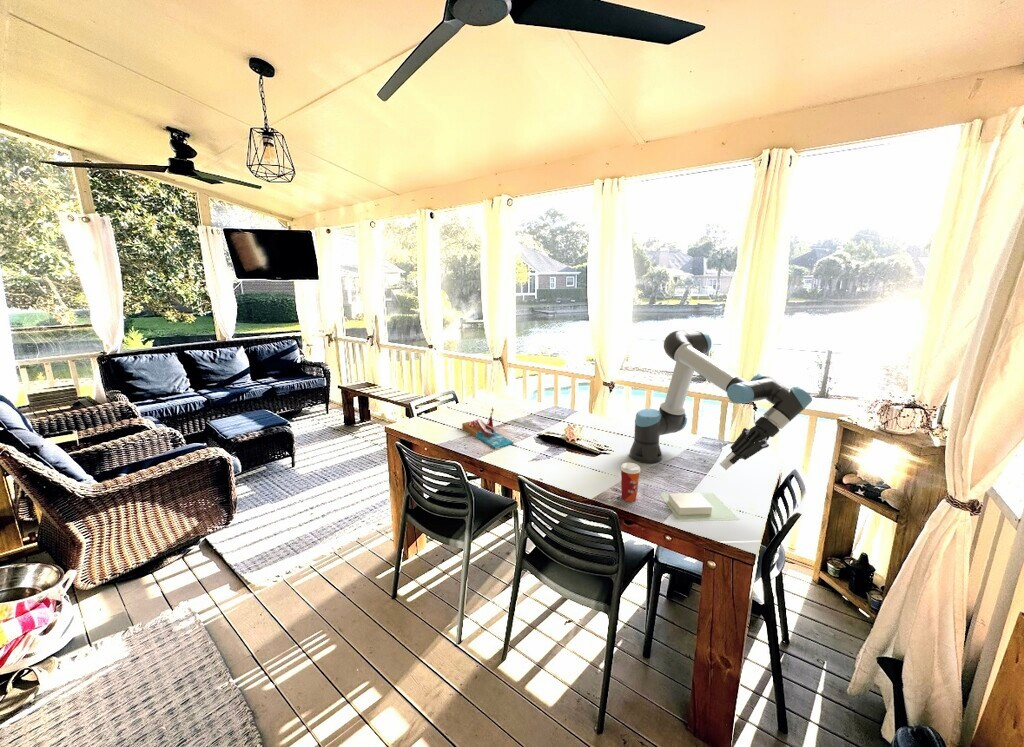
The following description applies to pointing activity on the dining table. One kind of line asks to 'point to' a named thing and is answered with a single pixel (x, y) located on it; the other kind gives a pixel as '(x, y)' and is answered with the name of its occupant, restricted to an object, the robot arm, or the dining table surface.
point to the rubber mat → (718, 513)
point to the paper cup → (629, 481)
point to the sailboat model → (486, 433)
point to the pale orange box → (689, 504)
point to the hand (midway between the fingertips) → (722, 467)
